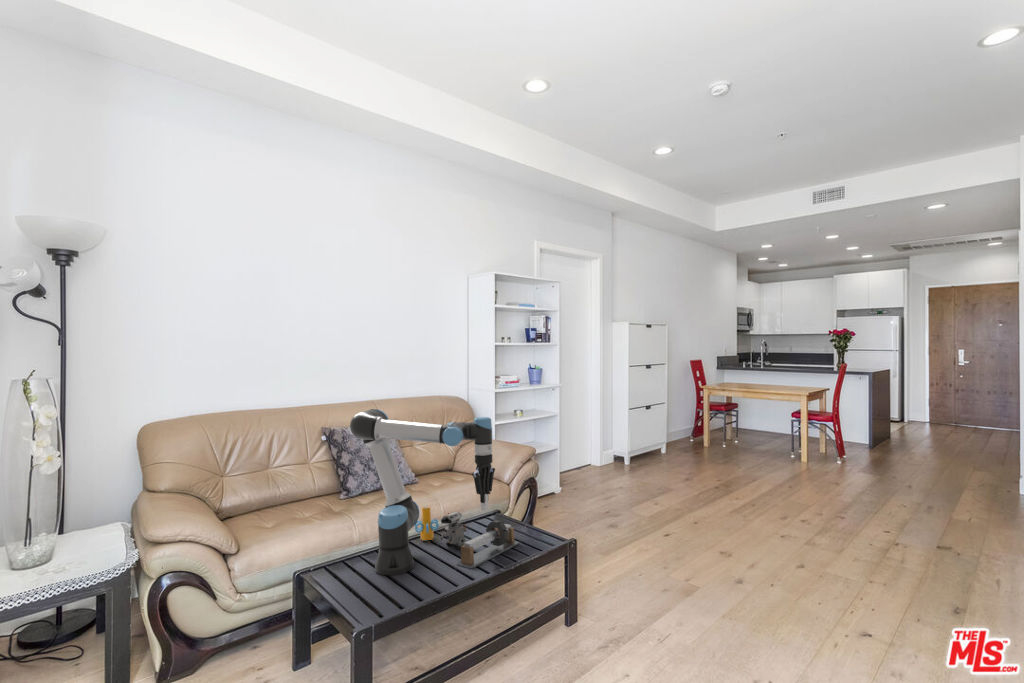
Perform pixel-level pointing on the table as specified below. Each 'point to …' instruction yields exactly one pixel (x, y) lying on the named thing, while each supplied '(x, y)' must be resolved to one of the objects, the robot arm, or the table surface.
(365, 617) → the table surface
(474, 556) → the grey rail stand
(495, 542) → the dark gear wheel
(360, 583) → the table surface
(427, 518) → the yellow blue looped tower
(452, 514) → the figurine
